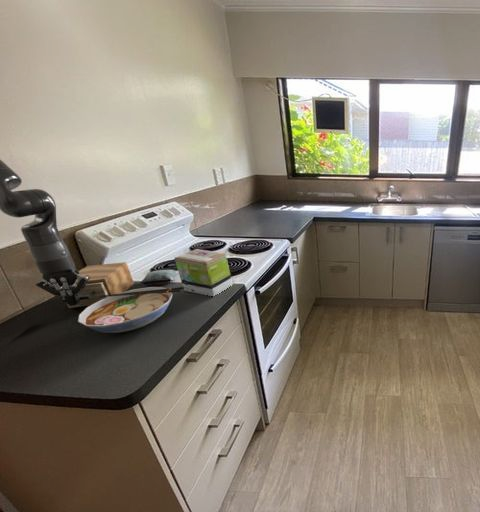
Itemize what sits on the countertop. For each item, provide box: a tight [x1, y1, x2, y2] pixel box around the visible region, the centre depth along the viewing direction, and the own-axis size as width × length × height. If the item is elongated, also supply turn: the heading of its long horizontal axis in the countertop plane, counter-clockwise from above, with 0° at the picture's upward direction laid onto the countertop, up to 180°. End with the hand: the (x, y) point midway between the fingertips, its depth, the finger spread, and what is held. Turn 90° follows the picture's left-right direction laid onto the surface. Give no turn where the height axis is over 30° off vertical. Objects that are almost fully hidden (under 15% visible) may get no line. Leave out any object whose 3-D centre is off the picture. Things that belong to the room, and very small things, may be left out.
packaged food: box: [139, 269, 179, 286], centre depth 119 cm, size 9×12×5 cm
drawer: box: [61, 281, 109, 309], centre depth 104 cm, size 19×11×8 cm, turn 18°
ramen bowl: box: [77, 286, 184, 334], centre depth 91 cm, size 25×23×8 cm
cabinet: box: [71, 261, 135, 309], centre depth 108 cm, size 16×13×10 cm
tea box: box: [174, 248, 234, 298], centre depth 111 cm, size 15×10×15 cm, turn 73°
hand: (74, 304), depth 95 cm, fingers closed
